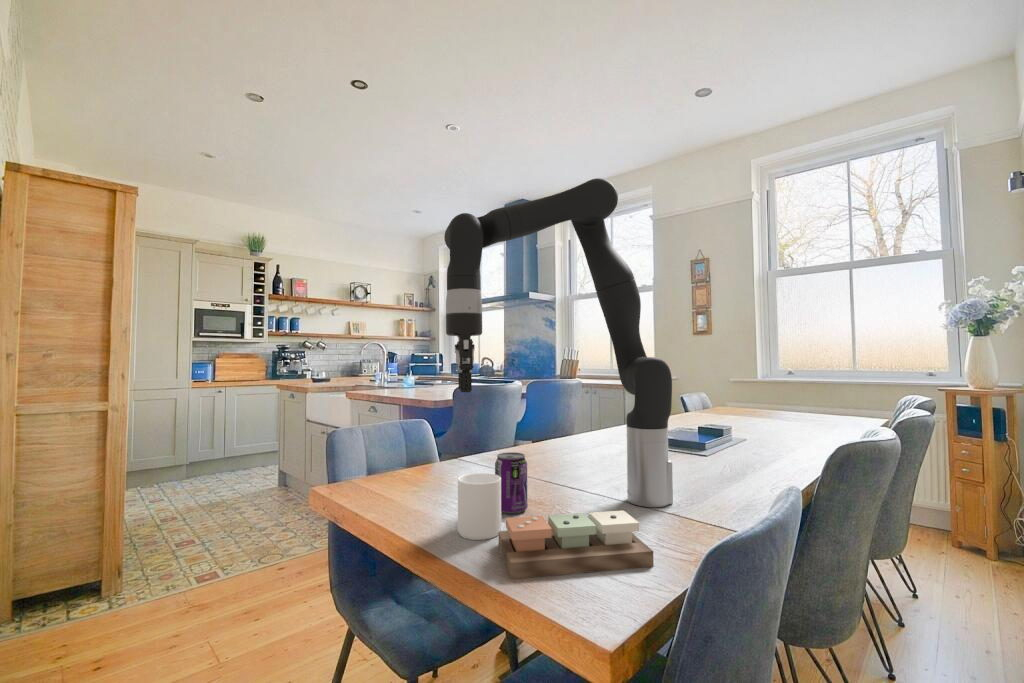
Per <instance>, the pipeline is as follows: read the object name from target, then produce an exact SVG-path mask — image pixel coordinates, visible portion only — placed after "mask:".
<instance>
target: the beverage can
mask: <svg viewBox="0 0 1024 683" xmlns="http://www.w3.org/2000/svg"><path fill="white" fill-rule="evenodd" d="M496 457H497V458H496V461H495V463H494V474H495V475H498V476H500V477H501V514H507V515H515V514H516V515H517V514H520V513H521V512H523V511H525V510H527V508H528V505H529V504H528V500H529V499H528V462H527V460H526V454H525V453H522V452H516V451H513V452H512V451H510V452H502V453H498V454H496Z"/></svg>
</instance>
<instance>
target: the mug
mask: <svg viewBox="0 0 1024 683" xmlns="http://www.w3.org/2000/svg"><path fill="white" fill-rule="evenodd" d="M457 531H458V534H459V536H461V537H462V538H464V539H466V540H470V541H485V540H486V541H487V540H490V539H493V538H495V537H498V536H499V531H502V512H501V477H500V476H498V475H495V473H486V472H479V473H475V472H474V473H469V474H468V473H467V474H463V475H460V476H459V477H458V478H457Z"/></svg>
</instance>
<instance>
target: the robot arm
mask: <svg viewBox="0 0 1024 683" xmlns="http://www.w3.org/2000/svg"><path fill="white" fill-rule="evenodd" d="M617 191H618V190H617V189H616V187H615V186H614V184H613V183H612V182H611V181H609V180H607V179H604V178H593V179H588V180H587V181H586V182H584V183H581V184H578V185H577V186H573V187H572V188H570V189H569V188H568V189H565V190H564V191H562V192H559V193H554V194H552V195H548V196H545V197H542V198H541V197H540V198H536V199H533V200H529V201H525V202H519V203H517V204H516V203H515V204H512V205H508V206H502V207H498V208H496V209H495V208H494V209H493V210H490V211H489V212H487V213H486V214H484V215H481V216H478V217H476V216H475V215H473V214H472V213H468V212H463V213H459V214H458V215H456V216H454V217H453V218H452V219H451V221H450V223H449V224H448V226H447V227H446V229H445V231H444V235H443V236H444V243H445V245H446V247H447V248H448V249H449V263H448V266H447V271H446V296H445V297H446V298H445V334H446V335H447V336H451V337H457V340H458V341H457V343H456V344H454V355H455V364H456V368H457V369H456V370H457V373H458V389H459V391H460V392H461V393H471V392H472V386H473V385H472V373H473V369H474V364H475V363H474V362H475V348H476V347H475V344H474V340H473V339H472V338H471V337H475V336H481V335H483V299H482V292H481V290H482V289H481V284H482V283H481V279H482V278H481V262H482V254H483V249H484V248H486V247H490V246H492V245H494V244H498V243H503V242H507V241H511V240H515V239H520V238H523V237H526V236H529V235H532V234H535V233H538V232H540V231H543V230H545V229H547V228H551V227H552V226H555V225H558V224H562V223H565V222H569V221H570V222H571V224H572V226H573V229H574V231H575V233H576V236H577V238H578V241H579V243H580V245H581V248H582V251H583V253H584V257H585V259H586V260H585V261H586V262H587V266H588V270H589V273H590V275H591V279H592V281H593V286H594V288H595V289H594V290H595V293H596V296H597V300H598V302H599V306H600V308H601V312H602V313H603V317H604V320H605V324H606V327H607V330H608V333H609V337H610V340H611V342H612V347H613V351H614V355H615V362H616V365H617V366H616V367H617V371H618V372H617V373H618V376H619V380H620V383H621V385H622V387H623V388H624V389H625V391H626V392H627V393H628V394H631V395H633V396H634V405H633V408H632V410H631V411H629V412H628V413H627V414H626V419H625V420H626V469H627V470H626V471H627V472H626V474H627V475H626V476H627V478H626V479H627V485H626V487H627V490H626V493H627V502H629V503H630V504H632V505H636V506H639V507H645V508H646V507H647V508H661V507H662V508H663V507H666V506H668V505H673V504H674V491H673V490H674V486H673V484H674V483H673V481H674V480H673V462H672V461H671V460H670V459H669V420H670V416H671V413H672V403H673V402H672V401H673V400H672V399H673V397H672V396H673V395H672V394H673V377H672V373H671V370H670V366H669V365H668V364H667V362H665V361H664V360H663V359H661V358H660V357H653V356H651V357H650V356H647V353H646V351H645V348H644V345H643V342H642V339H641V332H640V322H641V321H640V320H641V311H642V310H641V309H642V307H641V306H642V302H641V296H640V292H639V289H638V285H637V282H636V279H635V276H634V273H633V271H632V269H631V267H630V266H629V264H628V263H627V262H626V260H624V258H623V257H622V255H621V254H620V253H619V252H618V251H617V249H616V248H615V247H614V246H613V244H612V241H611V239H610V237H609V234H608V230H607V227H606V223H605V220H606V218H608V217H610V215H612V214H613V212H614V211H615V210H616V208H617V206H618V202H619V195H618V192H617Z"/></svg>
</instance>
